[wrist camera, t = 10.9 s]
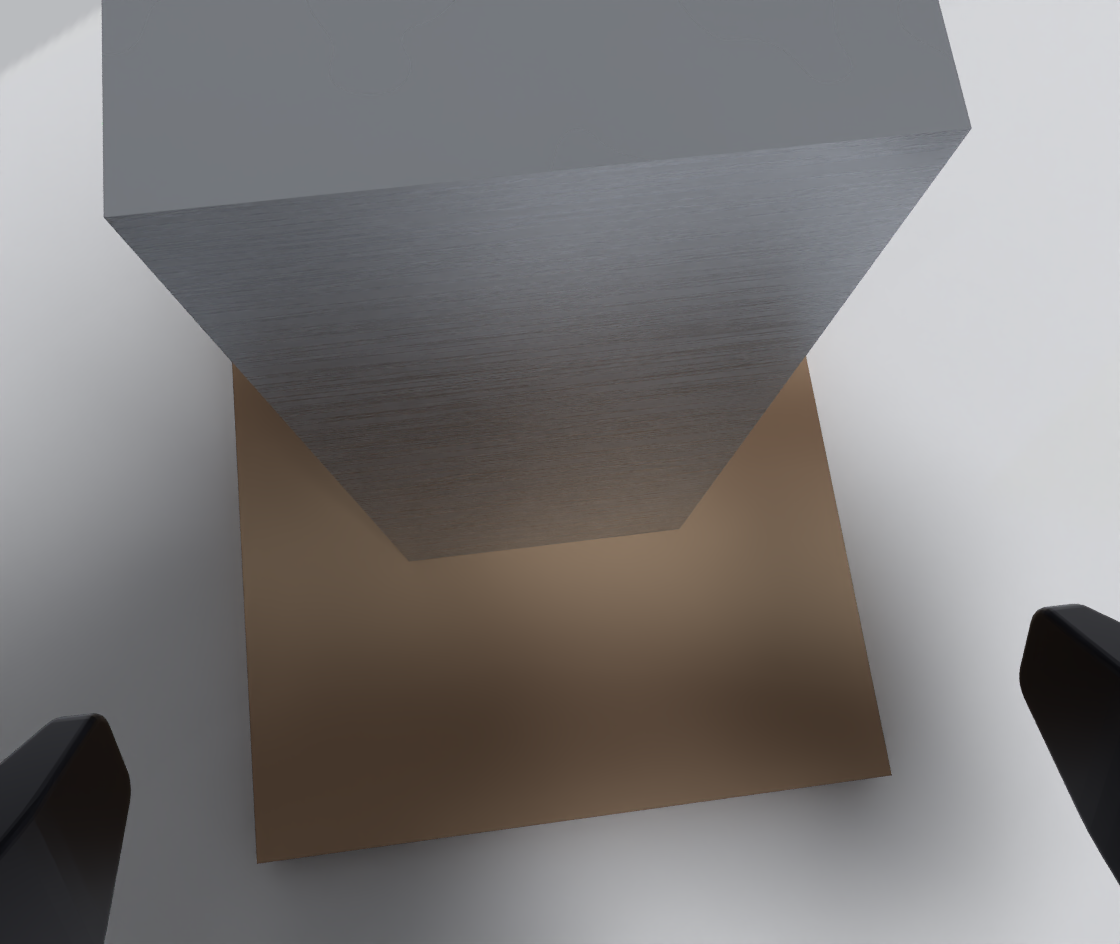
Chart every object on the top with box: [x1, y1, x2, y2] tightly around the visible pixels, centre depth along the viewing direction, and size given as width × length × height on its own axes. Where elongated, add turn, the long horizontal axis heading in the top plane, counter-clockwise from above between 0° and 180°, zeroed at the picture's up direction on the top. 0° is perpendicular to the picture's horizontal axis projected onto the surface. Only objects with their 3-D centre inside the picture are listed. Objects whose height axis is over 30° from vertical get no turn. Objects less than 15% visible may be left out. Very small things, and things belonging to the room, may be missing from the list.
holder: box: [232, 356, 892, 864], centre depth 18 cm, size 15×11×3 cm
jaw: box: [102, 0, 971, 562], centre depth 12 cm, size 5×6×12 cm
